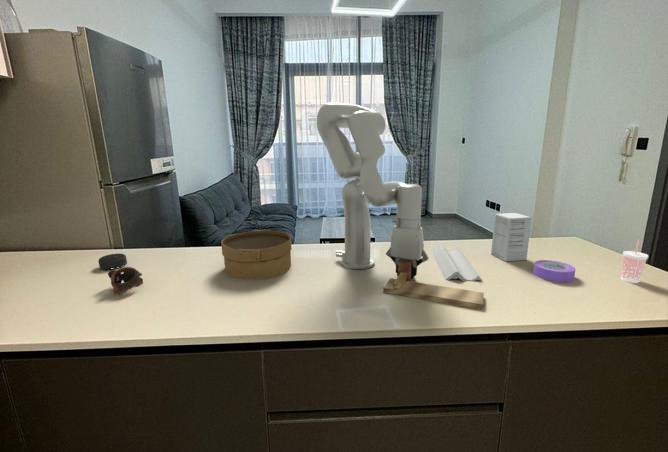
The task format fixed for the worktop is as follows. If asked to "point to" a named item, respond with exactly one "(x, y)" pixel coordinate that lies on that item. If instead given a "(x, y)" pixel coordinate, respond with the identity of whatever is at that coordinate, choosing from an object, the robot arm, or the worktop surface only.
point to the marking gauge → (403, 272)
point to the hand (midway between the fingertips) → (405, 275)
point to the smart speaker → (112, 261)
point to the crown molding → (454, 264)
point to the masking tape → (554, 271)
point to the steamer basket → (257, 254)
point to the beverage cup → (633, 265)
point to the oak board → (437, 293)
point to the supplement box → (511, 236)
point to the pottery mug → (124, 279)
